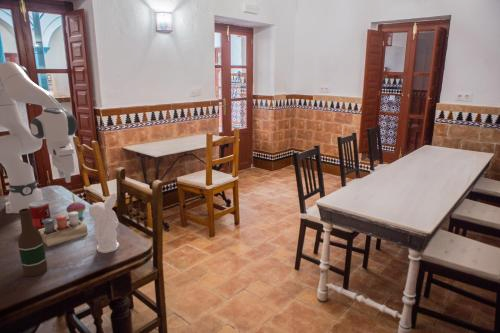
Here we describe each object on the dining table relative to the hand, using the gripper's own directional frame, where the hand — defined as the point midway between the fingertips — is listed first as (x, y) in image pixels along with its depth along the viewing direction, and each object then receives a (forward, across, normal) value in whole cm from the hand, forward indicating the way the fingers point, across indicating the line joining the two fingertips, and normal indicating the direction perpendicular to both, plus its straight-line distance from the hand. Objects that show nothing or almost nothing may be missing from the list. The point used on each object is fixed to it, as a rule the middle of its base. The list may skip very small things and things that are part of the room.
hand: (65, 179), depth 154 cm
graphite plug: (+21, +1, -9) cm, 23 cm away
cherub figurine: (+26, +22, +6) cm, 34 cm away
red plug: (+21, +1, -4) cm, 21 cm away
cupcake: (+24, -17, +6) cm, 31 cm away
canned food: (+24, -18, -9) cm, 32 cm away
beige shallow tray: (+24, +1, -4) cm, 25 cm away
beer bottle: (+25, +24, -20) cm, 40 cm away
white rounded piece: (+21, 0, +1) cm, 21 cm away
